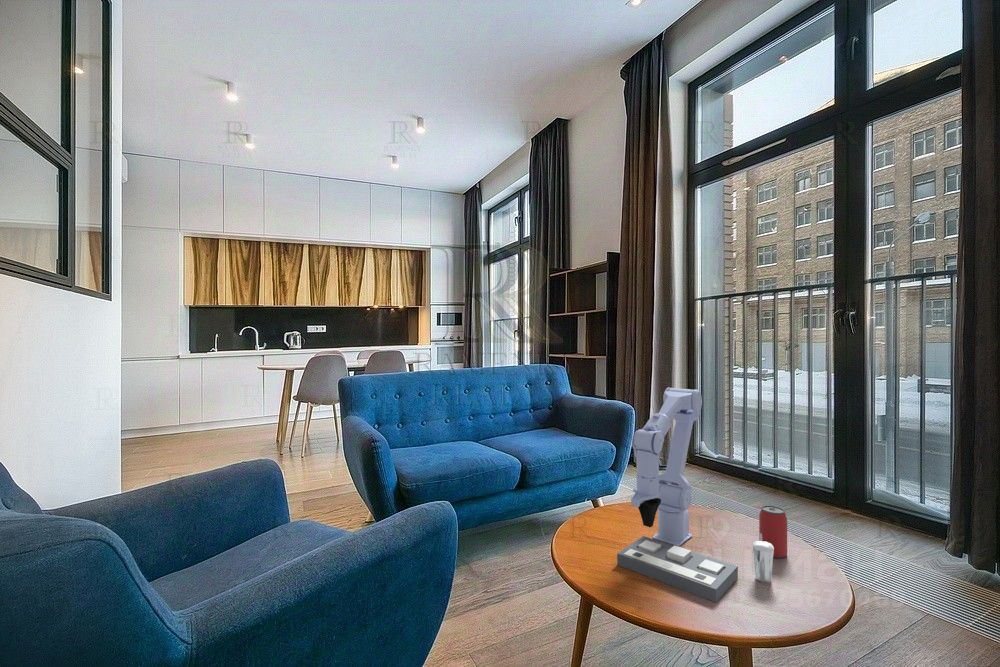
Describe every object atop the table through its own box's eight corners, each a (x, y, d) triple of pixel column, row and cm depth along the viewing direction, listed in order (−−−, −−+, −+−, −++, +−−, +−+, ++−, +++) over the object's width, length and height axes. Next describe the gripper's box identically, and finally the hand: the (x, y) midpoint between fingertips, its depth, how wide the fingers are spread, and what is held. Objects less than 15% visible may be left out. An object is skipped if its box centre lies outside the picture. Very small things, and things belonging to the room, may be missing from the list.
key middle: (674, 556, 126) (674, 545, 126) (691, 562, 123) (691, 550, 123) (667, 562, 123) (666, 551, 123) (683, 568, 120) (683, 556, 120)
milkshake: (771, 574, 120) (771, 534, 120) (775, 585, 115) (775, 544, 114) (750, 571, 121) (750, 532, 121) (754, 582, 116) (754, 541, 116)
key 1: (646, 550, 132) (646, 539, 132) (661, 556, 129) (661, 544, 129) (638, 556, 129) (638, 545, 129) (653, 562, 126) (653, 550, 126)
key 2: (705, 571, 121) (705, 559, 121) (723, 577, 118) (723, 565, 118) (698, 577, 118) (698, 565, 118) (717, 584, 115) (717, 572, 115)
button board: (643, 546, 136) (643, 534, 136) (737, 578, 118) (737, 564, 118) (617, 564, 126) (617, 552, 126) (716, 602, 108) (716, 587, 108)
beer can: (782, 548, 133) (782, 505, 133) (791, 560, 127) (791, 514, 127) (756, 546, 135) (756, 503, 134) (763, 557, 128) (763, 512, 128)
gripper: (646, 466, 137) (647, 513, 137) (620, 478, 126) (620, 530, 127) (670, 471, 132) (671, 520, 132) (645, 484, 122) (645, 538, 122)
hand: (648, 525), depth 129 cm, fingers closed
